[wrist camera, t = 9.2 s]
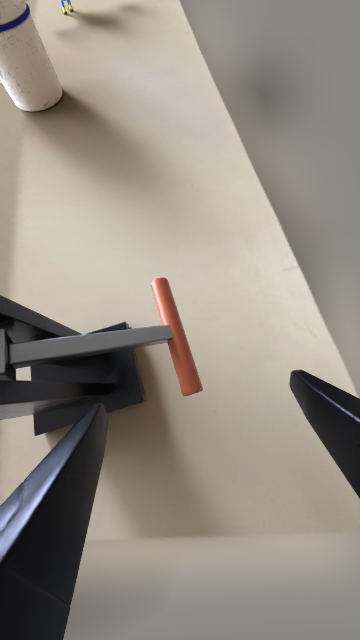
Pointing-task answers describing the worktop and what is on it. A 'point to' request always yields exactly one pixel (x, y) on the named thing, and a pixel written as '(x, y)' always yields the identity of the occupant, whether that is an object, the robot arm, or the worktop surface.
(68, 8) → the toy figure
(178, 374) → the lever
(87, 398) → the bracket
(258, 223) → the worktop surface
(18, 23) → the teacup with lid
